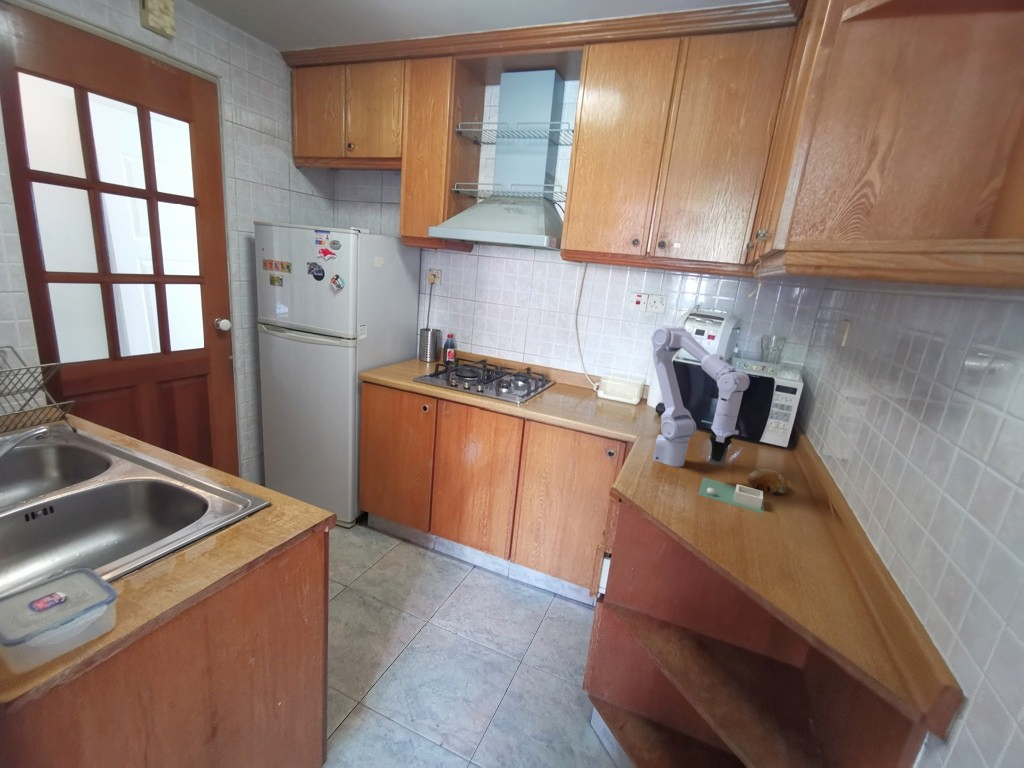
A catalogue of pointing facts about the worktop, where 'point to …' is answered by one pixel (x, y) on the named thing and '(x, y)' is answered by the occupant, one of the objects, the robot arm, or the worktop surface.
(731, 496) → the board
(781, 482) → the bread roll
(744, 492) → the white rectangular frame
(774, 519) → the worktop surface
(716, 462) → the plug
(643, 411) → the worktop surface
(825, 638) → the worktop surface
